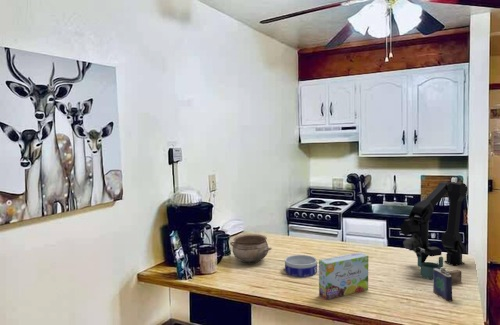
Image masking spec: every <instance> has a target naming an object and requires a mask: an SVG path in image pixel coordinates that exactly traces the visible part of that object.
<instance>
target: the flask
mask: <svg viewBox="0 0 500 325" xmlns="http://www.w3.org/2000/svg"><path fill="white" fill-rule="evenodd" d="M446 269H447V267H441V268H440V269H437V268H435V269H433V279H432V280H433V281H432V282H433V286H432V290H433V291H432V292H433V293H434V294H435V295H436V294H437V296H438V297H441V298H442V299H444V300H445V301H447V302H452V301H453V284H452V276H451V275H450V274H449V273H447V271H448V270H446Z"/></svg>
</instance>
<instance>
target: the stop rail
mask: <svg viewBox="0 0 500 325" xmlns="http://www.w3.org/2000/svg"><path fill="white" fill-rule="evenodd" d="M446 271H447V273H449V274H450V275H451V276H452V285H455V284H462V271H461V270H460V269H454V270H449V271H448V270H446Z"/></svg>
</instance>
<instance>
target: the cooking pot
mask: <svg viewBox="0 0 500 325" xmlns="http://www.w3.org/2000/svg"><path fill="white" fill-rule="evenodd" d="M267 239H268V237H267V236H265V235H262V234H259V233H258V234H257V233H250V234H249V233H248V234H240V235H237V236H235V237H233V239H232V240H233V241H230V243H229V245H230V246H231V247H232V248H231V249H232V255H234V257H235V258H236V259H238V260H239V261H241V262H242V263H243V262H244V263H245V264H248V265H249V264H256V263H258V262H259V261H261V260H263V259H264V258H265V257H267V255H268V253H269V251H271V250H272V249H273V248H272V247H269V244H268V242H267Z"/></svg>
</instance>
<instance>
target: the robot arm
mask: <svg viewBox="0 0 500 325" xmlns="http://www.w3.org/2000/svg"><path fill="white" fill-rule="evenodd" d="M468 190H469V189H468V186H467V185H466V183H465V182H464V183H463V182H454V181H450V182H447V181H440V182H439V183H438V185H437V186H436V187H435V189H433V190H432V191H431V192H430V194H429V195H428V196H427V197H426V198H425V199H423V200H420V201H418V202H417V203H415V204H414V205H413V206H412V209H411V211H410V213H409V214H408V217H407V219H404V220H403V222H402V223H401V224H400V231H401V233H402V234H403V235H404V236H412V237H410V238H406V239H404V240H403V241H402V246H404V248H405V250H408V251H413V252H414V254H415V255H416V257H417V258H416V259H418V257H421V263H423V262H426V260H427V258H429V257H437V256H438V257H439V256H442V252H443V251H442V249H441V248H440V247H437V246H431V243H430V242H429V238H431V234H429V223H431V222H432V221H433V220H432V219H430V217H431V215H432V214H433V212H434V209H435V207H436V205H438V203H439V202H440V201H441V200H443V198H444V197H445V195H446V194H447V196H448V198H449V206H448V207H449V209H448V218H447V229H446V231H444V232H442V233H441V240H440V241H441V245H442V247H443V250H445V251H446V260H443V263H446V264H449V265H452V266H454V267H456V266H462V265H465V264H466V263H465V262H464V261H463V254H465V253H466V252H467V247H466V246H465V245H464V243H463V237H462V235H461V233H460V225H461V224H460V222H461V215H462V214H461V211H462V203H463V201H464V199H465V198H466V197H467V193H468Z"/></svg>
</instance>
